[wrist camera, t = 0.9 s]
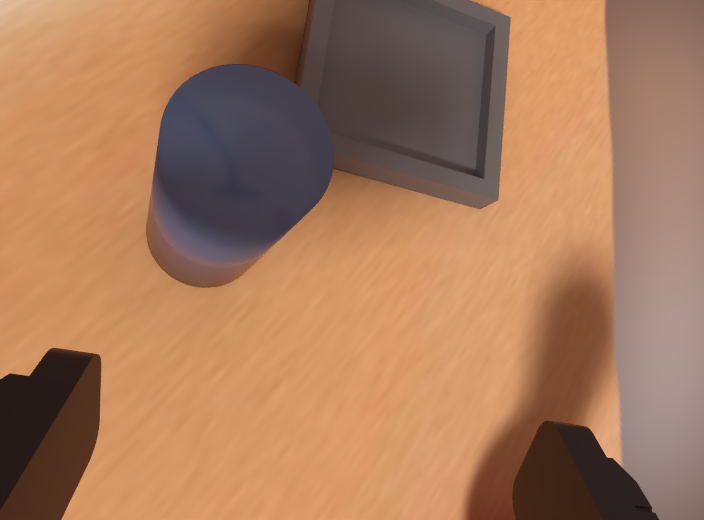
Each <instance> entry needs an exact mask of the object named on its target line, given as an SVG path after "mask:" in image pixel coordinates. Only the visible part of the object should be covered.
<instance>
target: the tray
mask: <svg viewBox="0 0 704 520" xmlns="http://www.w3.org/2000/svg"><path fill="white" fill-rule="evenodd" d="M510 18H511V17H508V16H506V15H504V14H501V13H499V12H496V11H494V10H491V9H489V8H486V7H484V6H482V5H479V4H477V3H474V2H472V1H469V0H310V1H309V6H308V12H307V18H306V23H305V29H304V35H303V40H302V46H301V52H300V57H299V63H298V69H297V75H296V80H295V84H296V85H297V86H299V87H300V88H301V89H302V90H303V91H304V92H305V93H306V94H307V95H308V96H309V97H310V98H311V99H312V100H313V101H314V103H315V104H316V105H317V107H318V108H319V109H320V111H321V113H322V115H323V116H324V118H325V120H326V122H327V125H328V127H329V130H330V133H331V136H332V141H333V147H334V165H333V168H334V169H337V170H341V171H345V172H348V173H352V174H355V175H359V176H363V177H366V178H370V179H373V180H377V181H381V182H384V183H388V184H391V185H395V186H398V187H402V188H406V189H409V190H413V191H416V192H420V193H424V194H427V195H431V196H434V197H438V198H441V199H445V200H449V201H452V202H456V203H459V204H463V205H467V206H470V207H474V208H477V209H482V208H484V207H486V206H488V205H490V204H492V203H494V202H496V201H498V196H499V181H500V166H501V151H502V137H503V122H504V107H505V92H506V77H507V63H508V48H509V33H510Z"/></svg>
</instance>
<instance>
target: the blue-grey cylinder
mask: <svg viewBox="0 0 704 520" xmlns="http://www.w3.org/2000/svg"><path fill="white" fill-rule="evenodd" d="M333 165H334V147H333V141H332V136H331V133H330V130H329V127H328V125H327V122H326V120H325V118H324V116H323V115H322V113H321V111H320V109H319V108H318V107H317V105H316V104H315V103H314V101H313V100H312V99H311V98H310V97H309V96H308V95H307V94H306V93H305V92H304V91H303V90H302V89H301V88H300V87H299V86H297V85H296V84H295V83H293V82H292V81H290V80H289V79H287V78H286V77H284V76H282V75H280V74H278V73H276V72H273V71H271V70H268V69H265V68H261V67H257V66H252V65H245V64H229V65H221V66H217V67H213V68H210V69H207V70H204V71H202V72H200V73H198V74H196V75H194V76H193V77H191V78H190V79H188V80H187V81H186V82H184V83H183V84H182V85H181V86H180V87H179V88H178V89H177V90H176V92H175V93H174V94H173V96H172V97H171V99H170V100H169V102H168V104H167V106H166V108H165V110H164V113H163V117H162V120H161V126H160V132H159V139H158V146H157V154H156V161H155V168H154V175H153V182H152V189H151V197H150V204H149V211H148V218H147V225H146V236H147V242H148V246H149V249H150V251H151V254H152V256H153V257H154V259H155V261H156V262H157V264H158V265H159V266H160V267H161V268H162V269H163V270H164V271H165V272H166V273H167V274H168V275H170V276H171V277H172V278H174V279H176V280H178V281H179V282H182V283H184V284H187V285H191V286H194V287H202V288H210V287H218V286H222V285H225V284H228V283H230V282H232V281H234V280H236V279H238V278H239V277H240V276H242V275H243V274H244V273H245V272H246V271H247V270H248V269H249V268H250V267H251V266H252V265H254V264H255V263H256V262H257V261H258V260H259V259H260V258H261V257H262V256H263V255H264V254H265V253H266V252H267V251H268V250H269V249H270V248H271V247H272V246H273V245H275V244H276V243H277V242H278V241H279V240H280V239H281V238H282V237H283V236H284V235H285V234H286V233H287V232H288V231H289V230H290V229H291V228H292V227H293V226H294V225H296V224H297V223H298V222H299V221H300V220H301V219H302V218H303V217H304V216H305V215H306V214H307V213H308V212H309V211H310V210H311V209H312V208H313V207H314V206H315V205H316V204H317V203H318V202H319V200H320V199H321V198H322V196H323V195H324V193H325V191H326V189H327V187H328V185H329V182H330V179H331V176H332V171H333Z"/></svg>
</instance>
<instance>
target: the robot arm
mask: <svg viewBox="0 0 704 520" xmlns="http://www.w3.org/2000/svg"><path fill="white" fill-rule="evenodd" d="M100 388H101V358H100V356H99V355H98V354H93V353H86V352H79V351H72V350H65V349H58V348H51V349H50V350H49V351H48V352H47V353H46V354H45V355H44V357H43V358H42V360H41V361H40V362H39V364H38V365H37V366H36V368H35V369H34V371H33V372H32V373H31V375H30V376H24V375H17V374H8V375H7V376H5V377H4V378H2V379H0V520H61V519H62V517H63V515H64V513H65V511H66V508H67V506H68V504H69V502H70V500H71V498H72V496H73V494H74V492H75V490H76V488H77V486H78V484H79V482H80V480H81V477H82V475H83V473H84V471H85V469H86V467H87V465H88V463H89V461H90V459H91V456H92V453H93V450H94V447H95V444H96V440H97V436H98V430H99V421H100ZM513 508H514V513H515V516H516V519H517V520H659V519H658V517H657V515H656V514H655V513H652V510H651V509H652V507H651V505H650V504H649V502H648V500H647V499H646V497H645V495H644V494H643V492H642V490H641V489H640V487H639V485H638V484H637V482H636V481H635V480H634V479H633V478H632V477H631V476H630V475H629V474H628V473H627V472H626V471H625V470H624V469H623V468H622V467H621V466H620V465H619V464H618V463H617V462H616V461H615V460H614V459H613V458H607V457H606V455H605V453H604V452H603V450H602V448H601V447H600V445H599V443H598V441H597V440H596V438H595V436H594V434H593V433H592V431H591V430H590V429H589V428H587V427H585V426H580V425H573V424H566V423H559V422H552V421H545V422H543V423H542V424H541V425H540V427H539V429H538V431H537V433H536V435H535V437H534V439H533V441H532V444H531V446H530V448H529V450H528V452H527V454H526V457H525V459H524V461H523V463H522V465H521V468H520V470H519V472H518V474H517V476H516V479H515V482H514V486H513Z"/></svg>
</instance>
